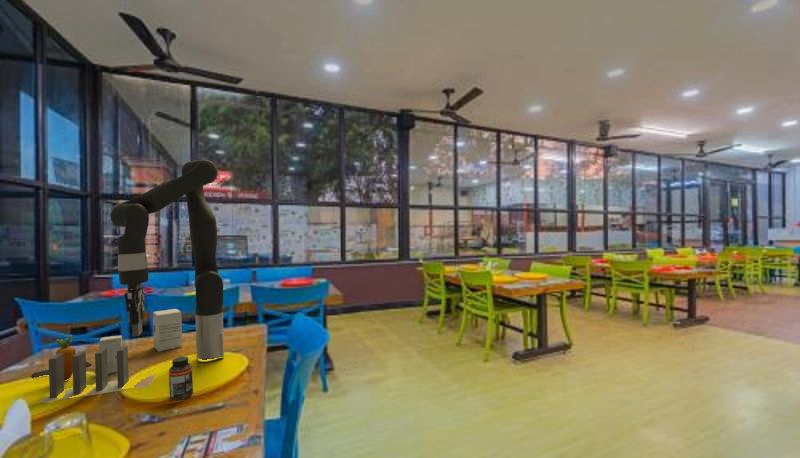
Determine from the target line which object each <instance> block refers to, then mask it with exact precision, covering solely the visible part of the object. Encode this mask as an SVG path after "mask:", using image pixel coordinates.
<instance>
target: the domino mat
mask: <svg viewBox="0 0 800 458" xmlns="http://www.w3.org/2000/svg"><path fill="white" fill-rule="evenodd" d="M150 375H151V376H150ZM150 375H148V376H149V377H146V378H145V379H141V381H140V382H138V383H137V384H136V385H134V389H139V388H140V389H141V388H146V387H150V385H152V383H153V381H154V379H155V378H156V376H157V374H150ZM129 379H131V378H129ZM83 391H84V390H83ZM83 391H82V392H83ZM119 391H120V392H121V391H123V390H122V388H118V379H116V380H110V381H109V380H108V385H107V386H106V387H105V388H104V389H103V390H102V391H96V388H94V389H93V390H92V391H91V392H89V393H88V394H86V395H85V396H84V397H88V396H95V395H101V394H108V393H114V392H119ZM82 392H81V393H82ZM81 393H80V394H81ZM76 395H79V394H76ZM76 395H73V388H72V389H69V390H66V392H65V395H64V396H63V398H60V399H63V400H68V399H67V398H69V397H72V396H76ZM46 396H47V395H46ZM46 396H44V397H43V398H42V399H41V400H40V401H38V404H42V403H50V402H55V401H60V400H59V399H58V398H57V397H56V398H50V396H47V398H46Z"/></svg>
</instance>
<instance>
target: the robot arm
mask: <svg viewBox="0 0 800 458" xmlns="http://www.w3.org/2000/svg"><path fill="white" fill-rule="evenodd" d="M218 175H219V171H218V167H217V166H216V165H215V163H214V162H213V161H211V160H208V159H197V160H191V161H187V162H186V163H184V165H182V168H181V175H180V176H178V177H176V178H173V179H171V180H168V181H165V182H163V183H161V184H158V185H157V186H155V187H154V186H153V188H151V189H149V190H147V191H146V192H144V193H142V194H140V195H138V196H136V197H133V198H131V199H128V200H126V201H123V202H121V203H120V204H118V205H115V207H114V208H113V209H112V210H111V212H110V220H111V222H112V223H113V224H114V225H115V226H117V227H121V228H125V229H124V234H123V235H120V236H119V237H118V239H117V252H118V253H117V254H118V258H117V267H118V283H119V284H120V285H122V286H127V290H125V293H124V294H123V295H124V300H125V301H124V303H125V307H126V309H125V310H126V313H127V312H128V313H129V324H130V325H131V326H132V325H133V324H138V323H139V304H141V318H142V320H144V310H143V309H144V305H145V304H146V302H145V286H143V285H142V284H144V283H147V282H148V281H150V279H149V263H148V257H147V253H146V252H147V249H146V248H147V247H146V237H147V233H148V228H149V223H150V215H151V214H155V213H158V212H159V211H161V210H163V209H164V208H166V207H168V206H170V205H171V204H172V203H174V202H175V201H177V200H179V199H180V198H182V197H184V196H185V197H186V198H185V199H186V206H187V207H186V208H187V215H188V225H189V226H188V227H189V228H188V229H189V236H190V242H191V248H192V252H193V256H194V281H193V282H194V289H195V308H194V309H195V341H196V342H195V343H196V344H195V346H196V348H195V350H196V359H197V358H199V359H202V360H207V359H214V358H219V357H223V356H225V336H224V334H225V332H224V312H223V311H224V310H223V309H224V308H223V307H224V280H223V278H222V277H221V275H220V274H219V269H218V264H217V246H218V227H217V226H218V225H217V219H216V216H215V214H214V212H213V211H212V209H211V208H210V206H209V204H208V203H207V200H206V198H205V194H204V186H206V185H208V184H212V183H213V182H215V181H216V179H217V178H218ZM136 299H137V301H136ZM132 304H134V307H131V305H132Z"/></svg>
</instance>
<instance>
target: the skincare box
mask: <svg viewBox="0 0 800 458" xmlns="http://www.w3.org/2000/svg"><path fill="white" fill-rule="evenodd" d="M122 346H123V336H122V335H119V334H118V335H111V336H103V337H100V340H99V350H100V349H105V348H107V367H108V375H109V374H113V373H117V351H118V350H119V349H120V348H121V347H122Z"/></svg>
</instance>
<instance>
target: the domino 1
mask: <svg viewBox="0 0 800 458" xmlns="http://www.w3.org/2000/svg"><path fill="white" fill-rule="evenodd" d="M86 353H87V352H86V350H81V351H78V352H77V353H76V352H75V355H74V356H72V366H73V373H72V387H73V395H76V394H80V393H81V392H82V391H83V390H84V389H85V388H86V387H87V386H86V385H87V367H86V362H87V359H86V358H87V357H86V356H87V355H86Z"/></svg>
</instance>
